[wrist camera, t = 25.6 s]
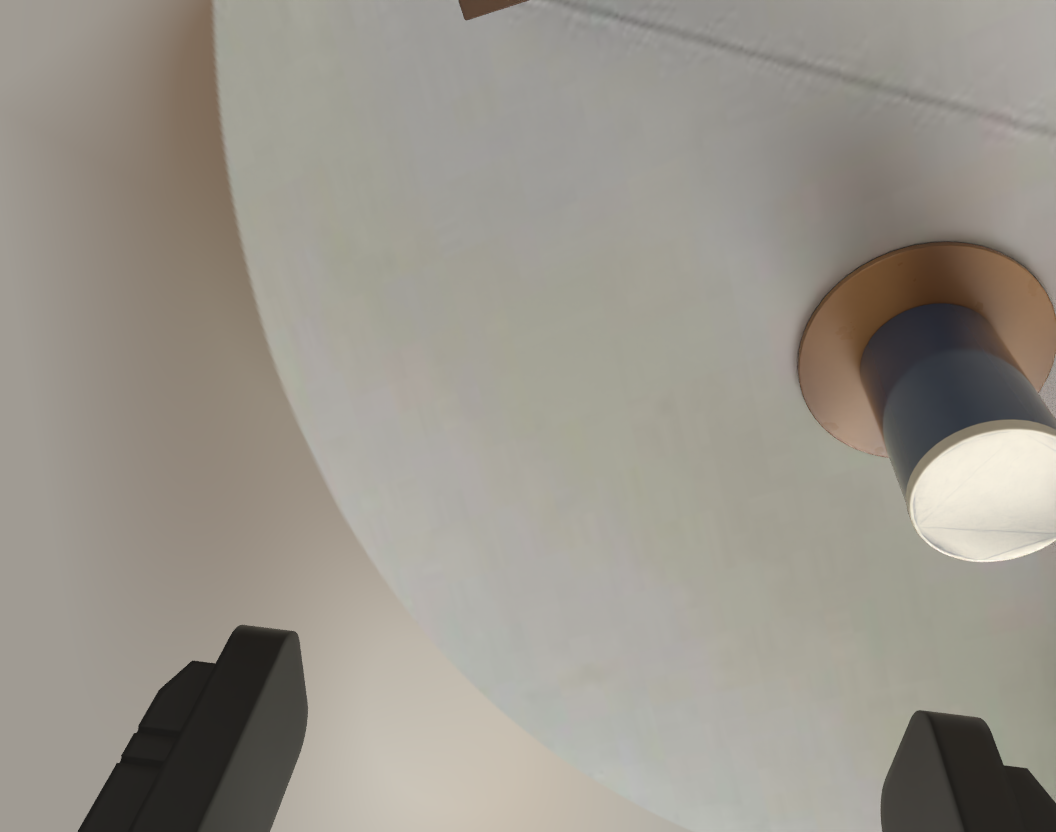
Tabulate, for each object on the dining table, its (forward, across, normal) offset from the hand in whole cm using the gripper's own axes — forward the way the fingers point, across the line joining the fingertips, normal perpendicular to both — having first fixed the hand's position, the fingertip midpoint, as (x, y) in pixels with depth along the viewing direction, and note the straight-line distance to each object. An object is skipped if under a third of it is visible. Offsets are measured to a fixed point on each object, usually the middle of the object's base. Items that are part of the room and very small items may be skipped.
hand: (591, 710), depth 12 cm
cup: (+30, -14, +10) cm, 34 cm away
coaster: (+30, -14, +10) cm, 35 cm away
